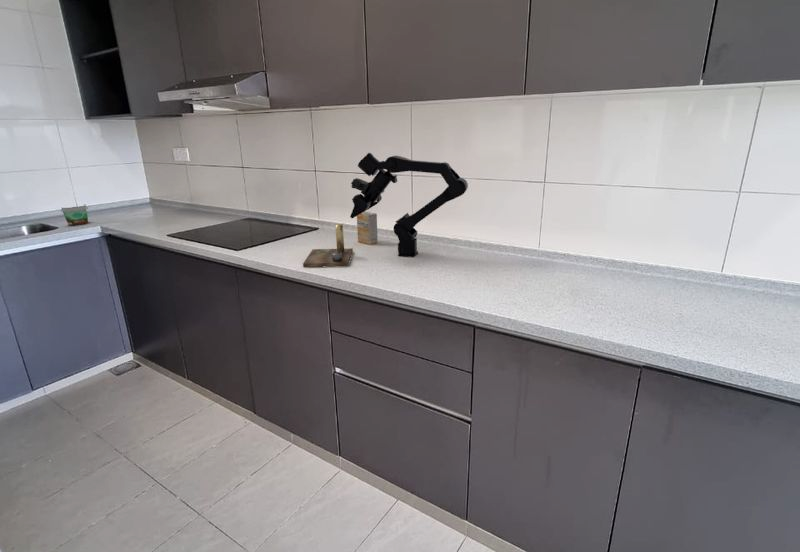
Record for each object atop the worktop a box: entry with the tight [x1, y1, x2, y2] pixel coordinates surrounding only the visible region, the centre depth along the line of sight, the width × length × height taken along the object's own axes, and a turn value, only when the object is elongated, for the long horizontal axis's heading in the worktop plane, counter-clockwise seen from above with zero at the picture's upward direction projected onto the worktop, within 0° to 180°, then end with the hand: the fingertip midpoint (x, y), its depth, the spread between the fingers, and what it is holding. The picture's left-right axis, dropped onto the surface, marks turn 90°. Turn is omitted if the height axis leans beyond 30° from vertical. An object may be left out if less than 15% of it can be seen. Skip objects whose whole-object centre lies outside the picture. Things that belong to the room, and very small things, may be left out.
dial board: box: [302, 247, 354, 268], centre depth 165 cm, size 16×19×2 cm
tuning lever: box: [332, 223, 345, 261], centre depth 163 cm, size 4×17×10 cm, turn 1°
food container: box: [60, 204, 89, 227], centre depth 238 cm, size 12×6×10 cm, turn 148°
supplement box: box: [356, 210, 379, 245], centre depth 186 cm, size 8×5×13 cm, turn 45°
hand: (355, 215), depth 170 cm, fingers open, 9 cm apart
